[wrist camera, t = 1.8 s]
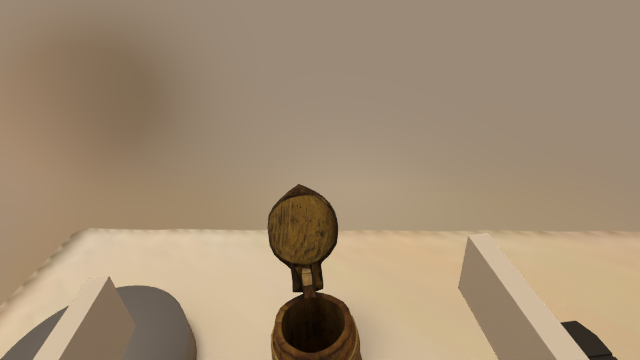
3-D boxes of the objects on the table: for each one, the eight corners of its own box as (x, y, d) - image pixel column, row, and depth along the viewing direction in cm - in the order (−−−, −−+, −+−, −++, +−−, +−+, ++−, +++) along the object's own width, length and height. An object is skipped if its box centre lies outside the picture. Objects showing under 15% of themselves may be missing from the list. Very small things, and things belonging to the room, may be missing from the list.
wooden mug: (355, 311, 39) (349, 176, 30) (385, 451, 28) (391, 300, 18) (278, 321, 39) (248, 188, 30) (275, 467, 27) (225, 323, 18)
